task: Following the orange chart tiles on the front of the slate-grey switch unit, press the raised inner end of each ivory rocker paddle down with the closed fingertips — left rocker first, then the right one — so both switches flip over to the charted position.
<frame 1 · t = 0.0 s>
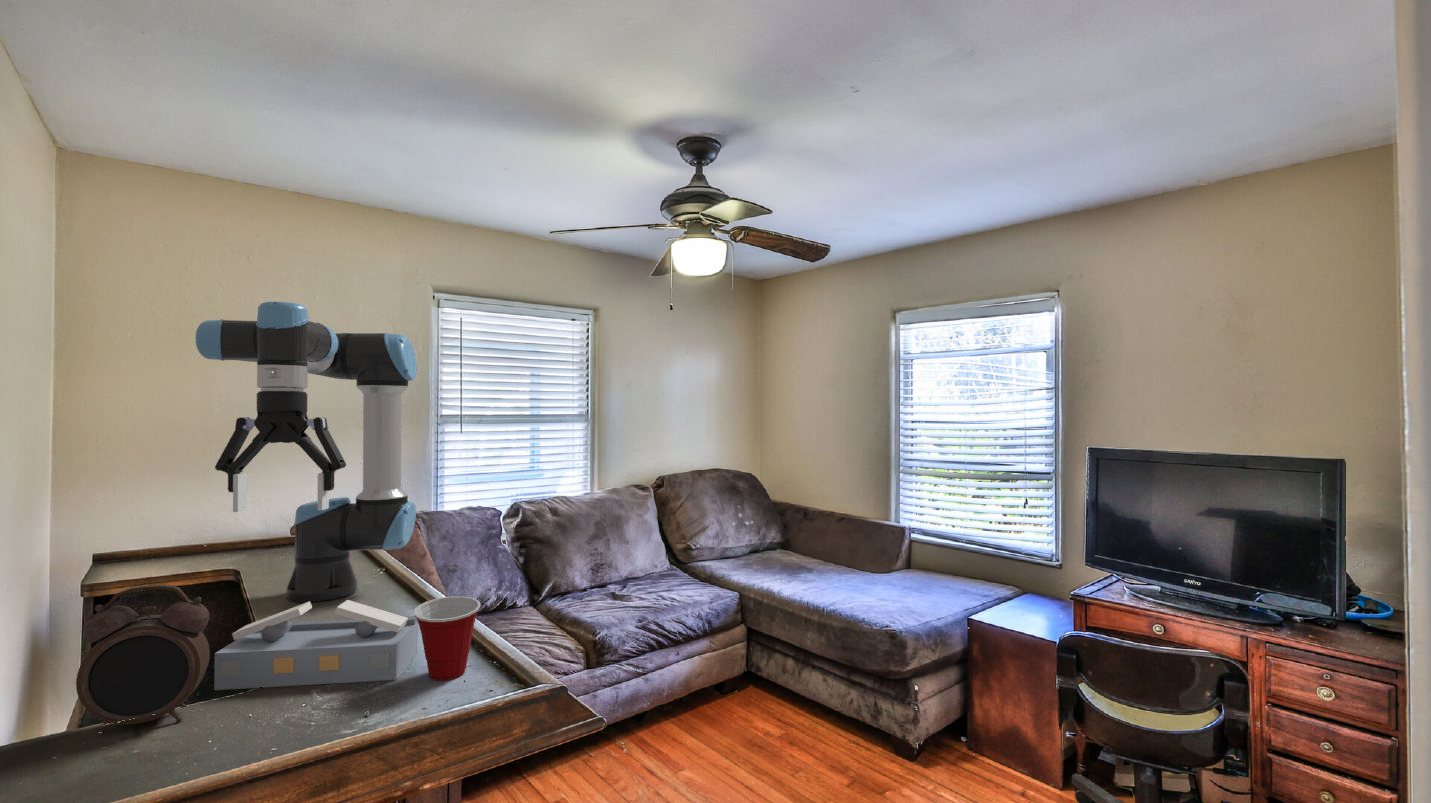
hand: (281, 510, 116), 28 cm above the table, fingers open, 13 cm apart
rocker right: (369, 622, 117), point 8 cm above the table, hinge at -20.0°
alarm clock: (146, 725, 96), on the table
switch unit: (322, 670, 115), on the table
rocker left: (275, 626, 114), point 8 cm above the table, hinge at 20.0°
plastic cup: (447, 675, 114), on the table
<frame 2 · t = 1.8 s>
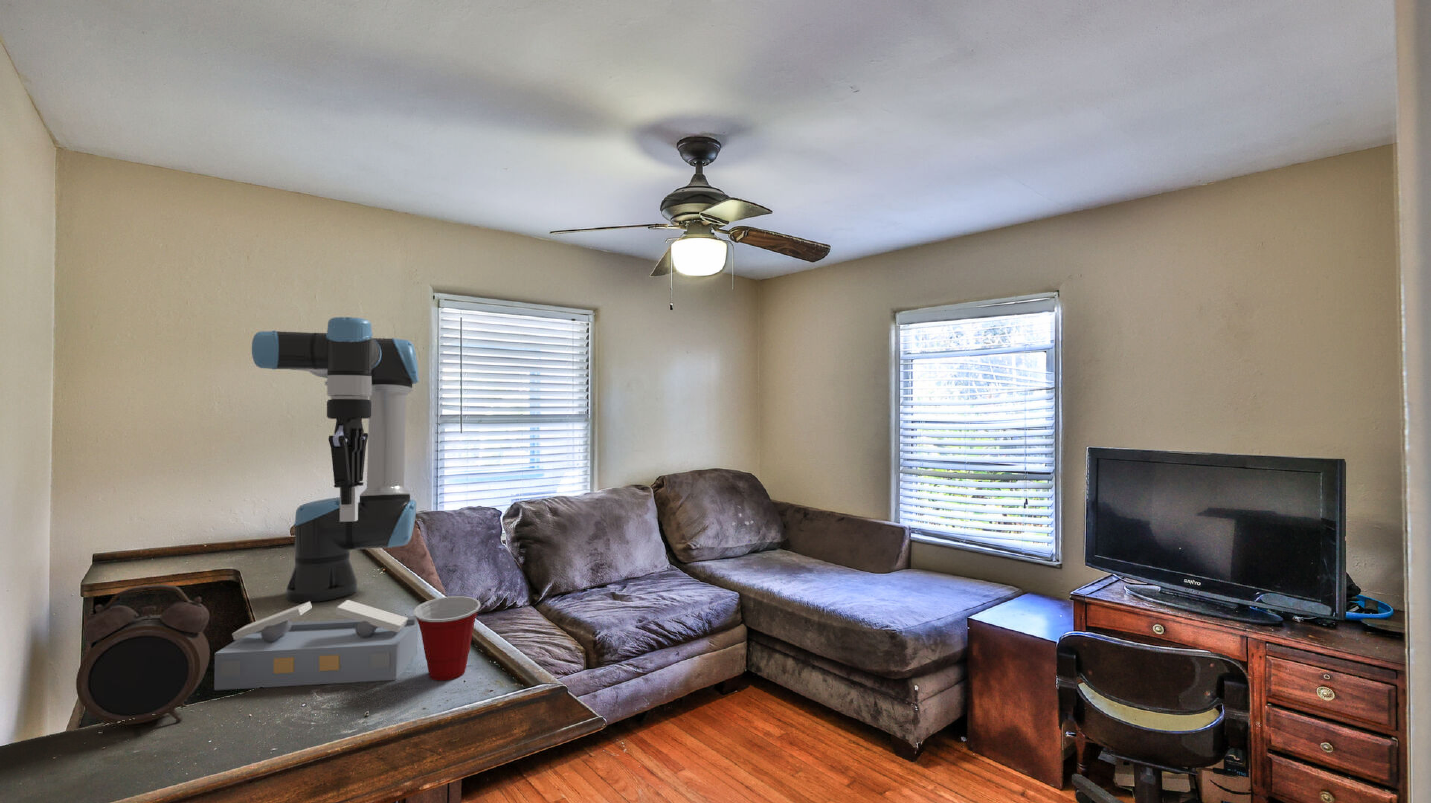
hand: (348, 520, 126), 24 cm above the table, fingers closed
nothing on the table moved.
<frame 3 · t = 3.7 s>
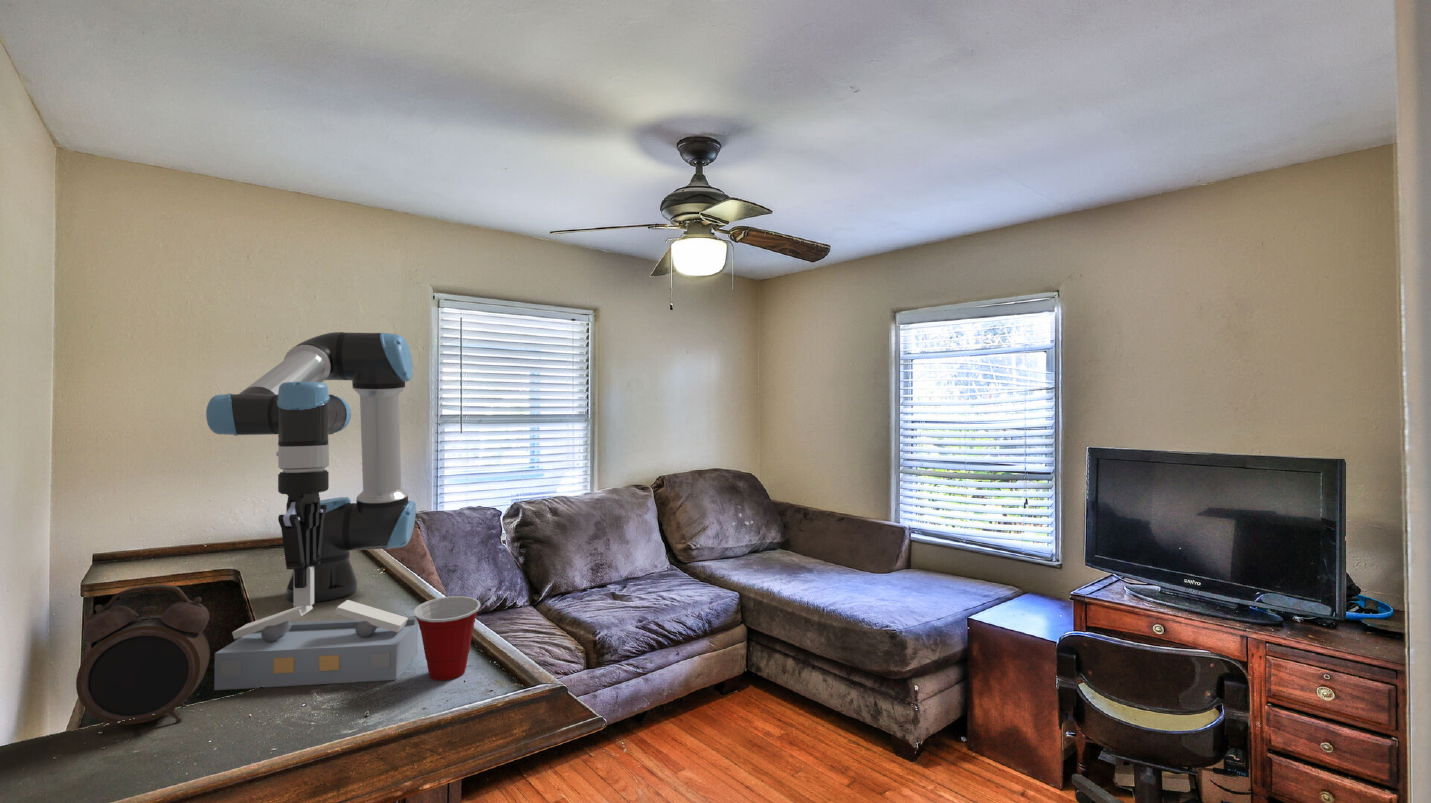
hand: (303, 604, 115), 12 cm above the table, fingers closed
rocker left: (275, 626, 114), point 8 cm above the table, hinge at 18.0°, touching gripper
everything else where it was.
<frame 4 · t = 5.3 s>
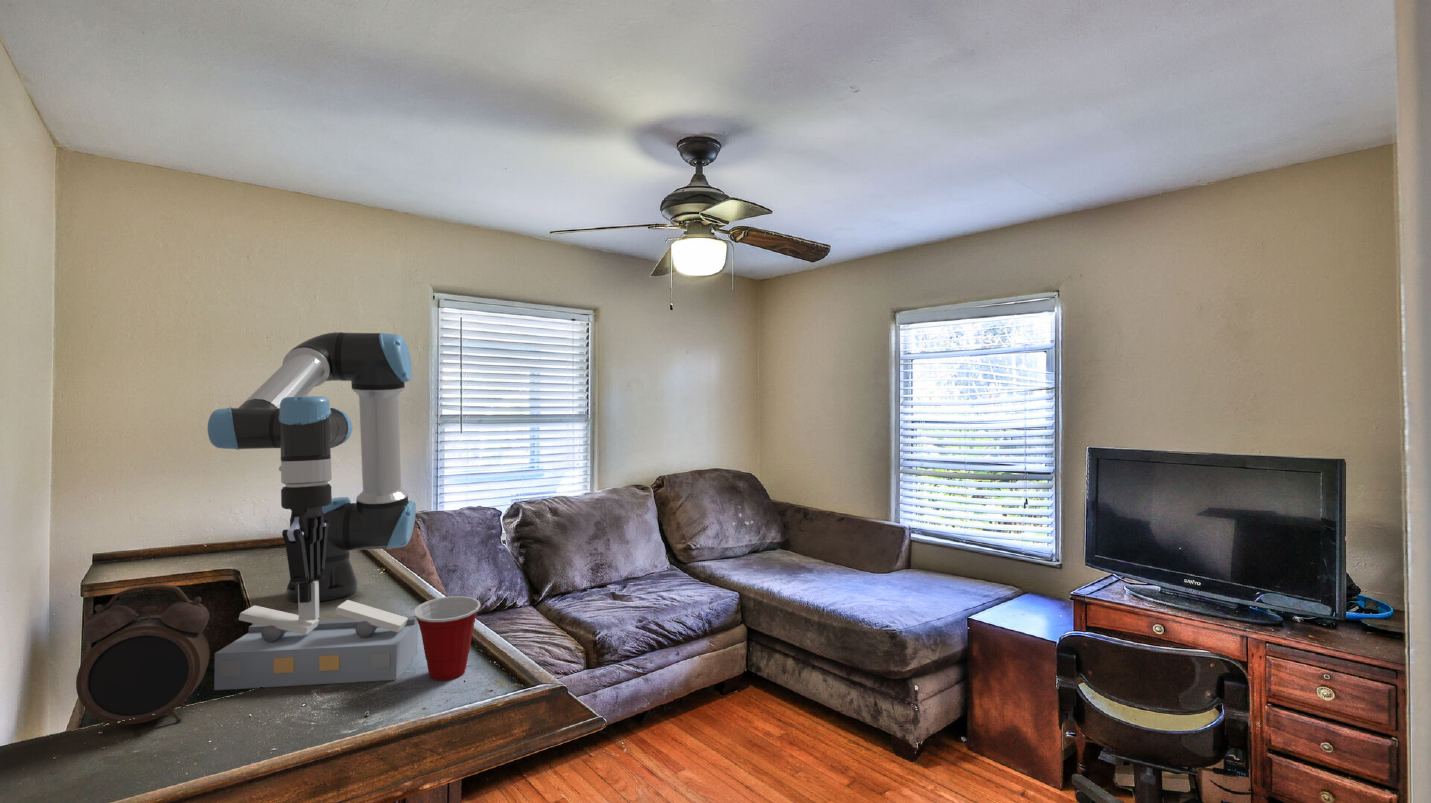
hand: (309, 619, 115), 9 cm above the table, fingers closed
rocker left: (277, 626, 114), point 8 cm above the table, hinge at -16.0°, touching gripper
everything else where it was.
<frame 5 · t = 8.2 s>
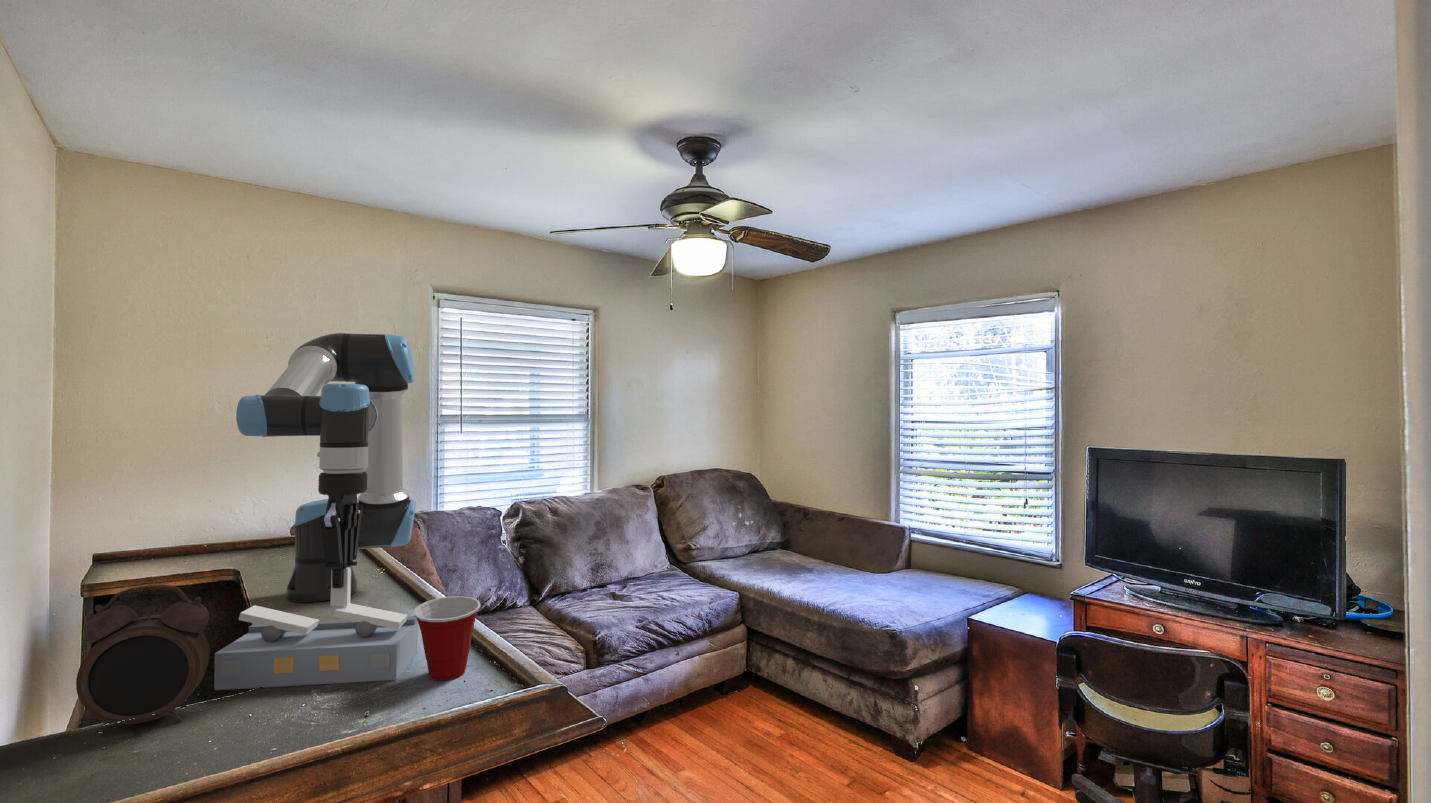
hand: (340, 604, 116), 11 cm above the table, fingers closed
rocker right: (369, 622, 117), point 8 cm above the table, hinge at -14.3°, touching gripper
rocker left: (277, 626, 114), point 8 cm above the table, hinge at -16.1°
everything else where it was.
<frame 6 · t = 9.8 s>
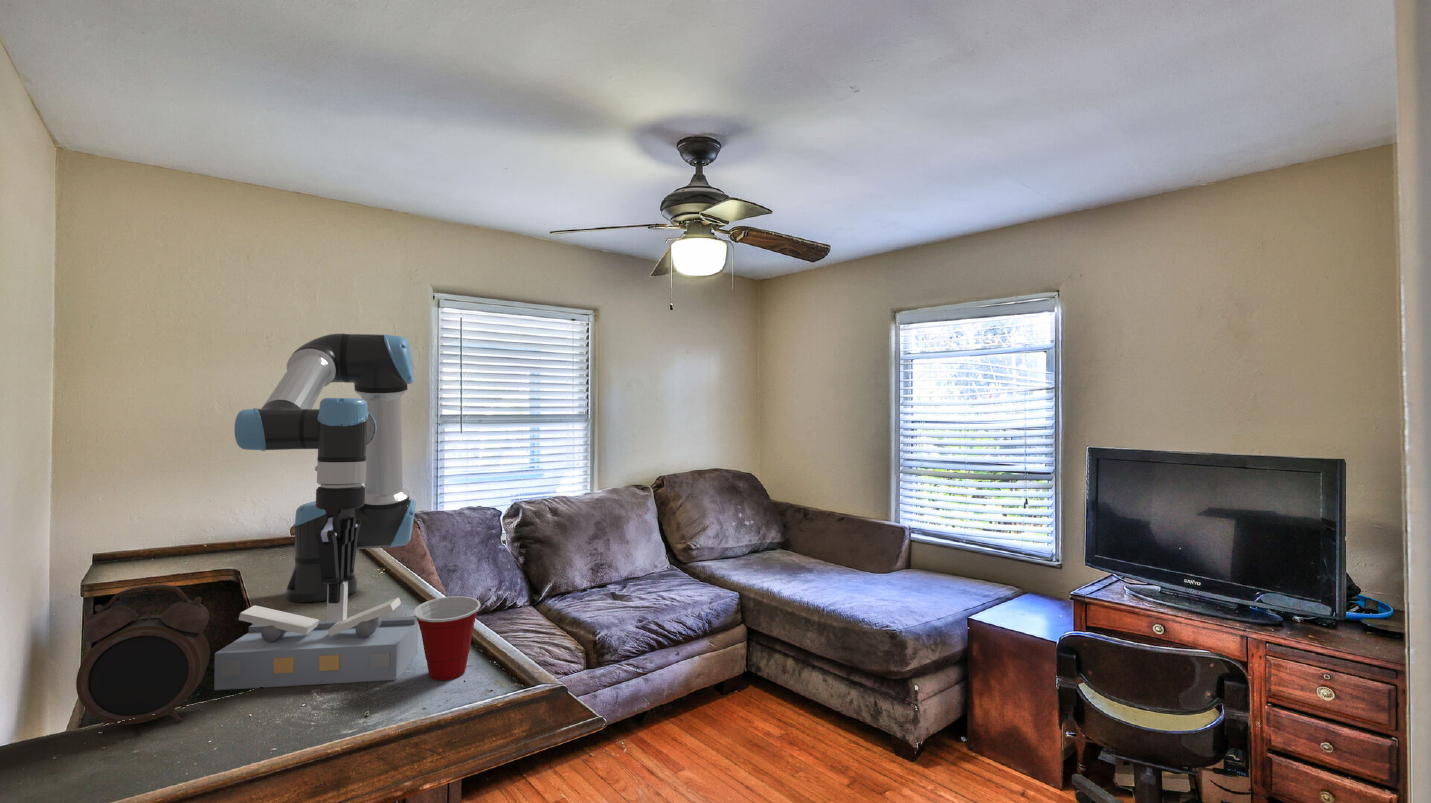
hand: (336, 619, 115), 9 cm above the table, fingers closed
rocker right: (367, 622, 117), point 8 cm above the table, hinge at 21.3°, touching gripper
everything else where it was.
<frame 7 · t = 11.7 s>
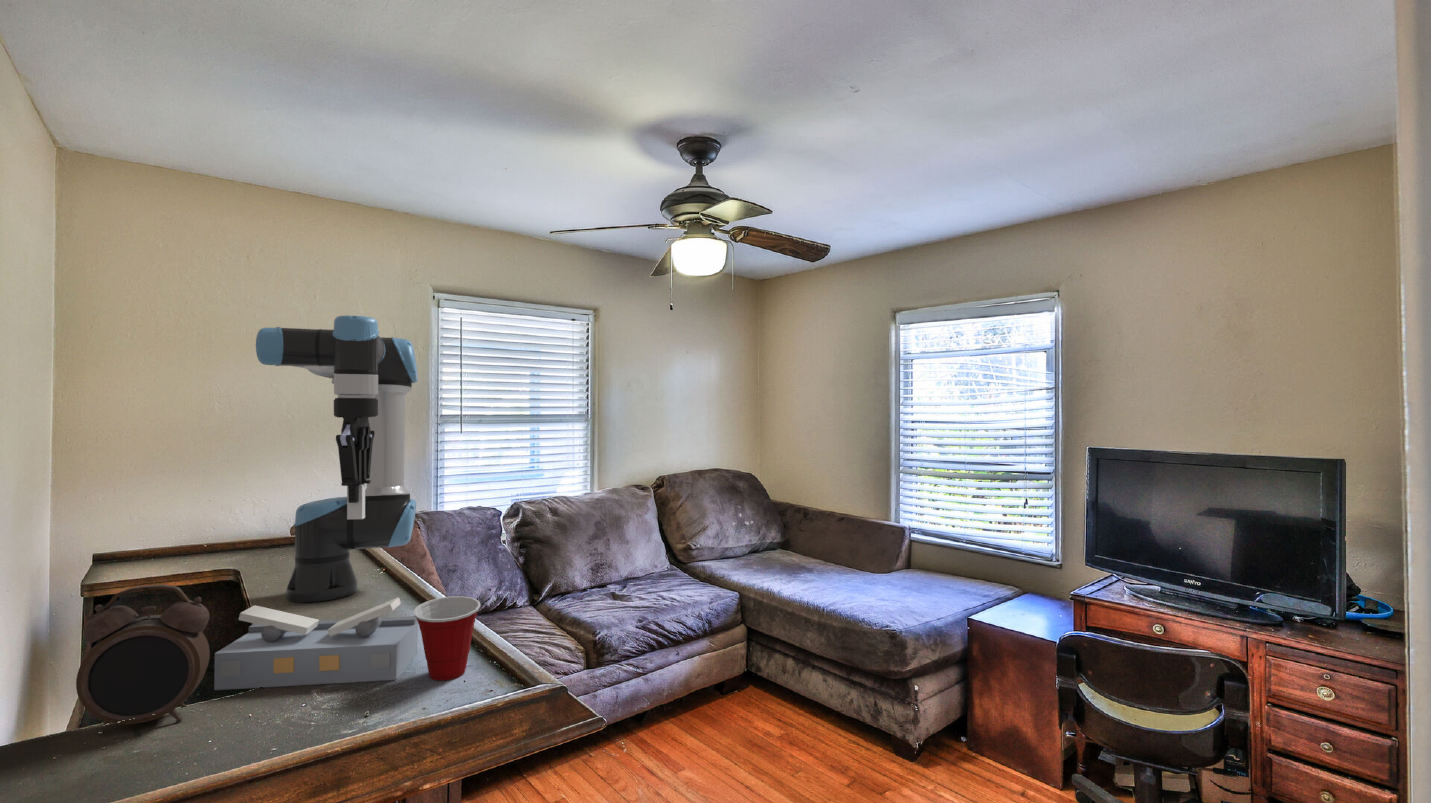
hand: (356, 518, 127), 25 cm above the table, fingers closed
rocker right: (367, 622, 117), point 8 cm above the table, hinge at 21.4°
everything else where it was.
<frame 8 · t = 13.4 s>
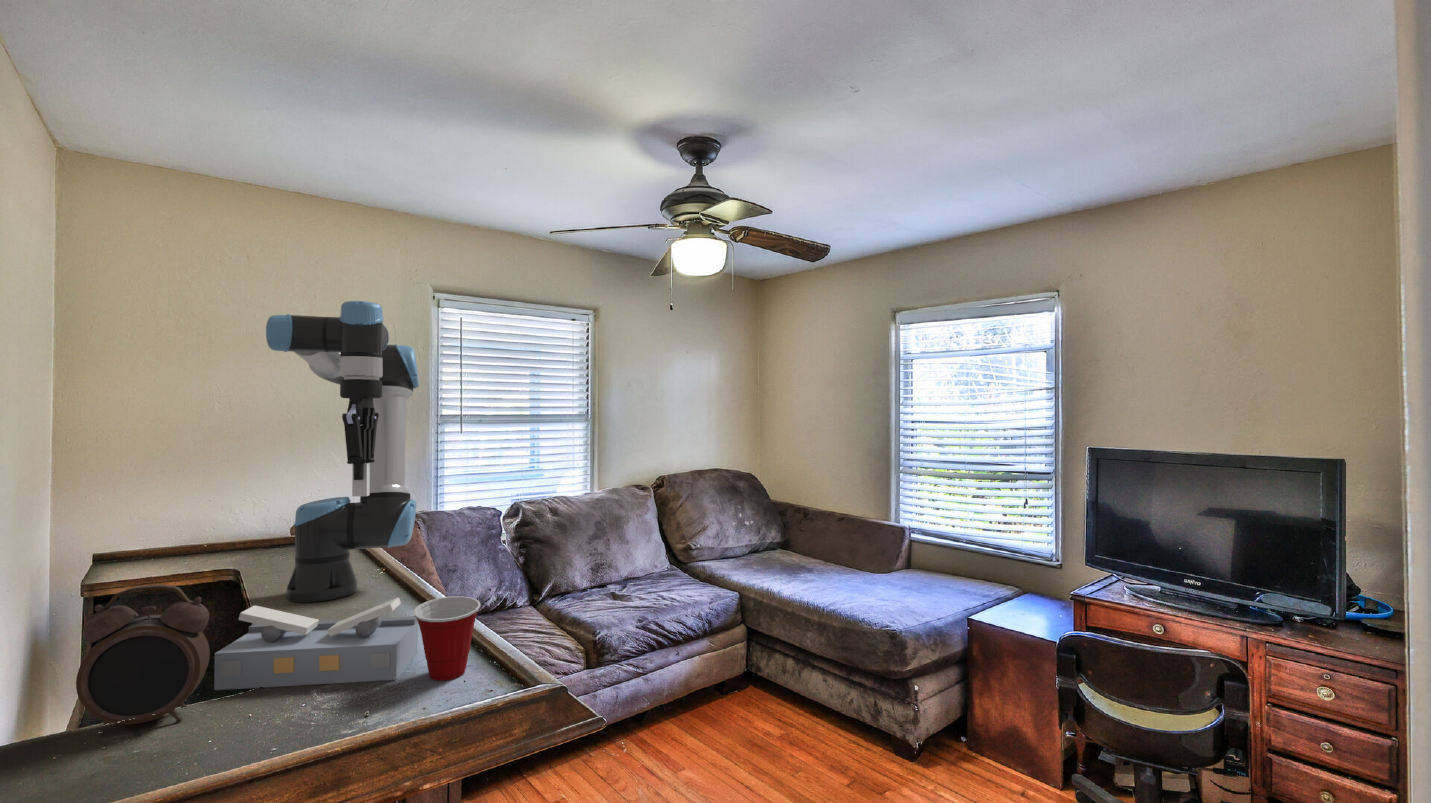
hand: (360, 495, 132), 28 cm above the table, fingers closed
nothing on the table moved.
at the end: rocker left at -16° (first picture: +20°); rocker right at +21° (first picture: -20°) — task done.
